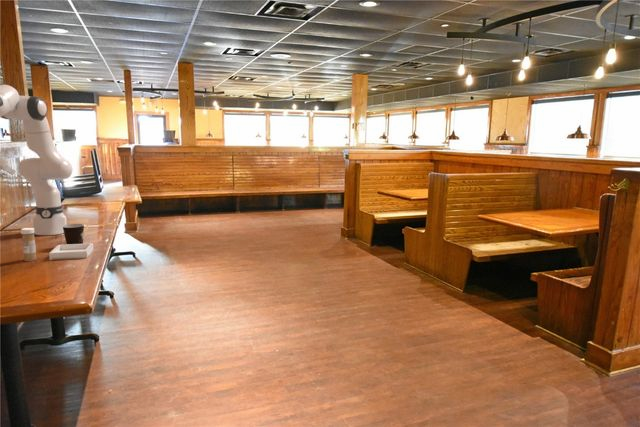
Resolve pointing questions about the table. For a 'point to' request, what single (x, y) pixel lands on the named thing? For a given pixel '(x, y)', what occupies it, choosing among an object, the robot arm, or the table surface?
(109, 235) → the table surface
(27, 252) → the sprinkles bottle
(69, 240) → the coffee mug
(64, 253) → the tray
